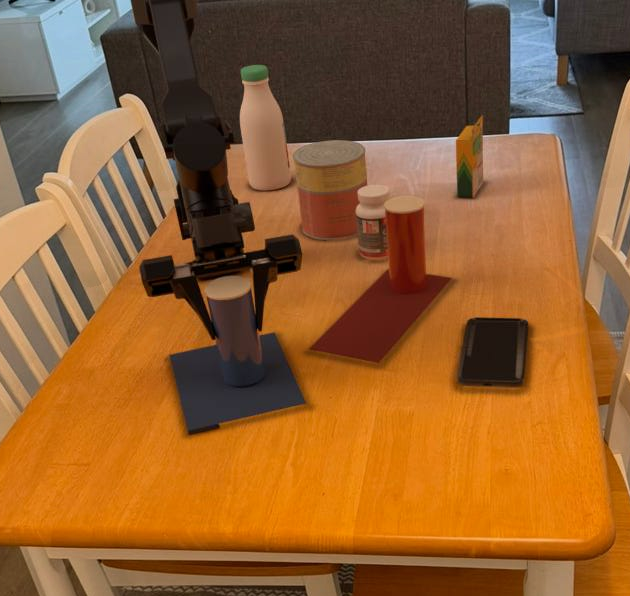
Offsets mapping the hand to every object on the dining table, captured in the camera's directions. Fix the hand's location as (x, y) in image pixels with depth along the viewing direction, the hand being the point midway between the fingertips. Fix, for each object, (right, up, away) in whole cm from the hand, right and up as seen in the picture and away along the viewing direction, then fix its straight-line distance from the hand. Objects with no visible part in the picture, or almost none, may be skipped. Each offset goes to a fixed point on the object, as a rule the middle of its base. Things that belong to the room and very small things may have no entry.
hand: (237, 334), depth 104 cm
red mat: (+18, +5, +16) cm, 24 cm away
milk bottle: (-2, +36, +58) cm, 68 cm away
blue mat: (-1, -5, +6) cm, 7 cm away
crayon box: (+33, +32, +48) cm, 67 cm away
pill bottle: (+17, +17, +31) cm, 39 cm away
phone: (+31, -2, +6) cm, 31 cm away
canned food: (+10, +23, +41) cm, 48 cm away
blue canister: (0, -4, +5) cm, 7 cm away
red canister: (+21, +10, +21) cm, 31 cm away
